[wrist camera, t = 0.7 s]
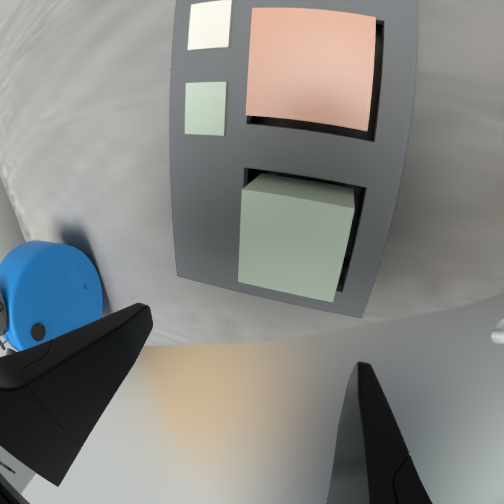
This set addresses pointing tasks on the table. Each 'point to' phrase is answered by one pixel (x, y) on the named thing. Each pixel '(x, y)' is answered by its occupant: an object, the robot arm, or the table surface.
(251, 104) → the terracotta key
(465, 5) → the table surface
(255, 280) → the sage key
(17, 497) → the robot arm
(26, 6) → the table surface
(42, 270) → the alarm clock
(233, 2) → the console
